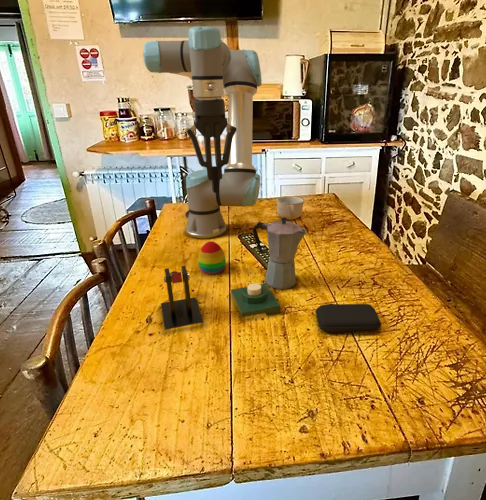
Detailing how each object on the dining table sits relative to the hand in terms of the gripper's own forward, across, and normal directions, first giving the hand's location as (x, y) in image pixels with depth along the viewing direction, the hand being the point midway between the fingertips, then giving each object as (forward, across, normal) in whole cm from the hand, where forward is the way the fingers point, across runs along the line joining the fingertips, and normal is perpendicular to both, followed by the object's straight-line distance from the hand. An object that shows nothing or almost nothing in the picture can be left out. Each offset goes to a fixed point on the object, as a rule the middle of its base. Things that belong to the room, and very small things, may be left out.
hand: (215, 191), depth 107 cm
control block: (+26, +5, -18) cm, 32 cm away
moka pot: (+27, +15, -9) cm, 32 cm away
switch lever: (+19, -14, -13) cm, 27 cm away
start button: (+23, +5, -18) cm, 29 cm away
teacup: (+27, +37, +40) cm, 61 cm away
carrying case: (+27, +24, -33) cm, 49 cm away
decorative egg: (+27, -2, +4) cm, 27 cm away
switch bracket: (+26, -14, -17) cm, 34 cm away
